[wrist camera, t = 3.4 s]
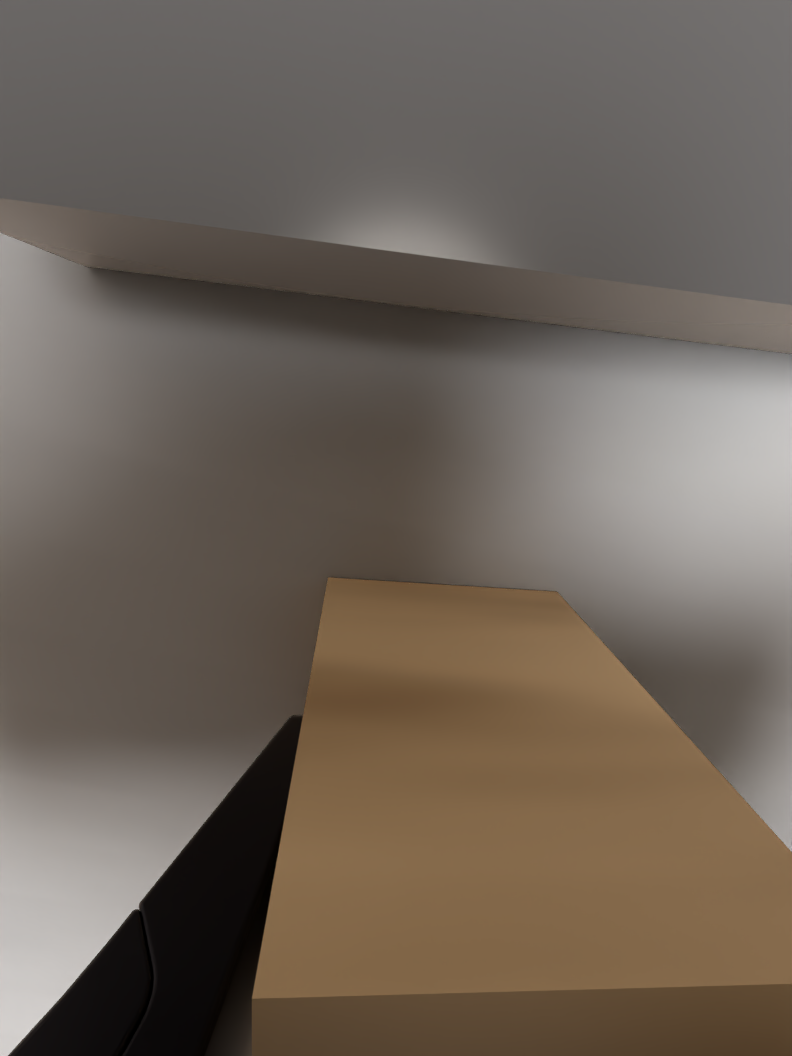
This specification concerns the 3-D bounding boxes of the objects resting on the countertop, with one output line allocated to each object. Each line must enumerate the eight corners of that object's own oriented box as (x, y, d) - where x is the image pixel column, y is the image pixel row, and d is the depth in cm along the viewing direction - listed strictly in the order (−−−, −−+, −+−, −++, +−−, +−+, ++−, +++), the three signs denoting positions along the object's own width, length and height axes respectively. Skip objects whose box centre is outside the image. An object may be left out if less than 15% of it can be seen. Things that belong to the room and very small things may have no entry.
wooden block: (515, 767, 10) (704, 1256, 5) (316, 763, 10) (252, 1297, 4) (557, 591, 9) (907, 980, 3) (327, 577, 8) (252, 996, 3)
